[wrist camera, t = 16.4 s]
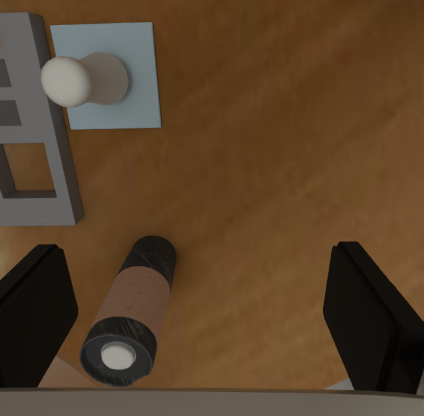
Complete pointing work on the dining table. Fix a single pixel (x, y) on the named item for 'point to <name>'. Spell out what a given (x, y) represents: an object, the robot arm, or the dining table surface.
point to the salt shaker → (84, 80)
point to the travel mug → (131, 316)
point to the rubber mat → (132, 62)
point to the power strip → (32, 127)
